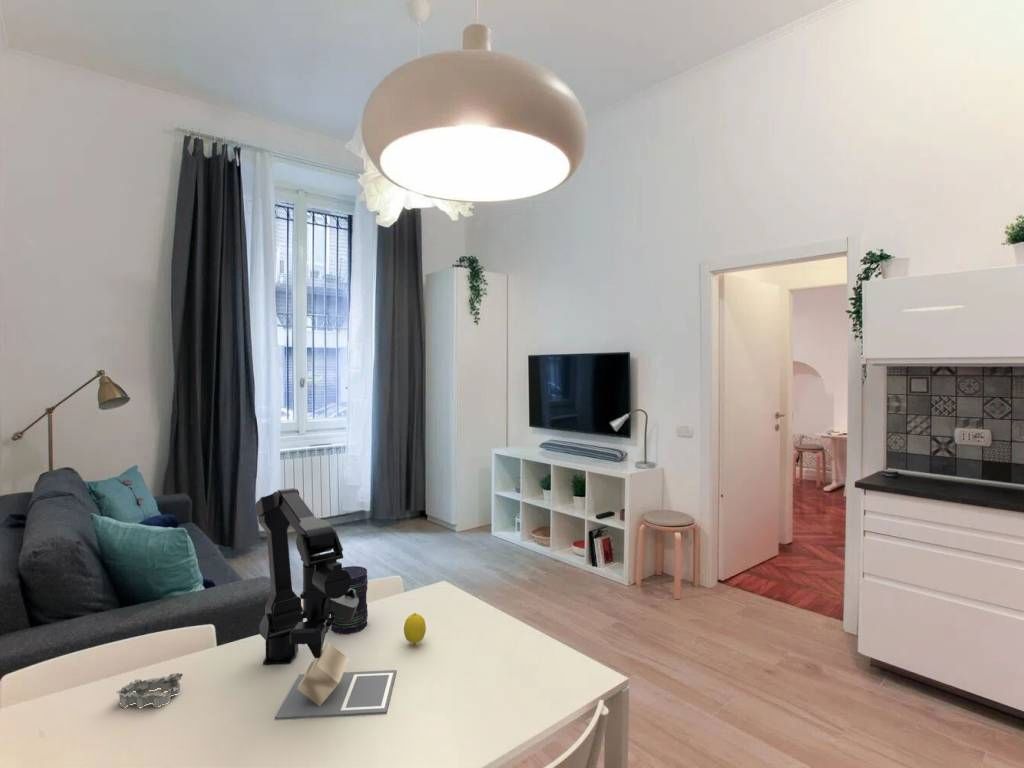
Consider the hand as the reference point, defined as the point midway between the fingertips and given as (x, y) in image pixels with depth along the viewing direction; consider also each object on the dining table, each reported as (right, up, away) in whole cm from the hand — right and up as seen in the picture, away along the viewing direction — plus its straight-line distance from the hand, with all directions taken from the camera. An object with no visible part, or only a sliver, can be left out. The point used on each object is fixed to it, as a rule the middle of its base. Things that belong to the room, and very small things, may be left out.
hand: (317, 657), depth 117 cm
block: (-1, -6, 0) cm, 6 cm away
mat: (+5, -8, 0) cm, 9 cm away
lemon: (+17, -8, +23) cm, 29 cm away
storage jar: (-3, -8, +33) cm, 34 cm away
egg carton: (-35, -9, -1) cm, 36 cm away
